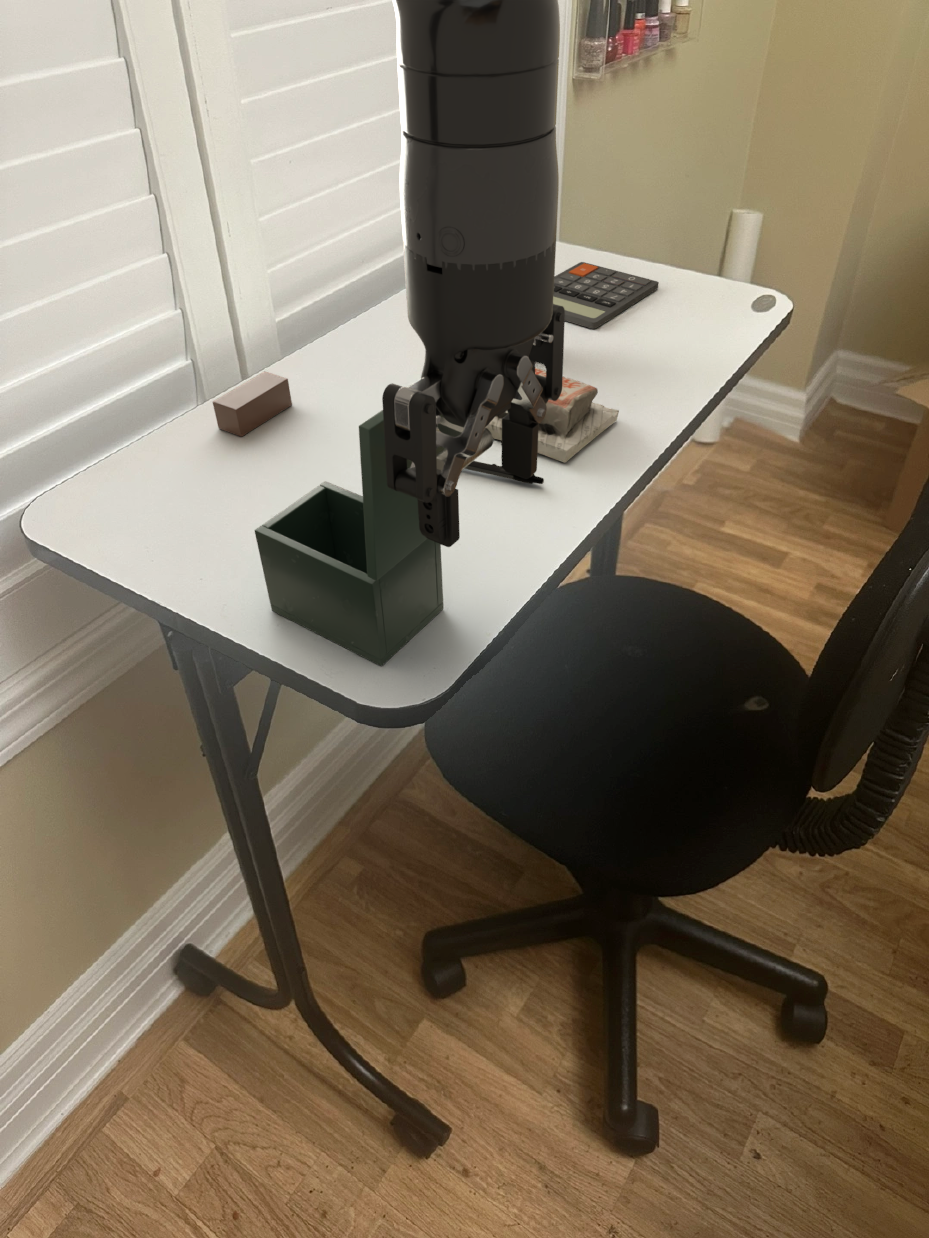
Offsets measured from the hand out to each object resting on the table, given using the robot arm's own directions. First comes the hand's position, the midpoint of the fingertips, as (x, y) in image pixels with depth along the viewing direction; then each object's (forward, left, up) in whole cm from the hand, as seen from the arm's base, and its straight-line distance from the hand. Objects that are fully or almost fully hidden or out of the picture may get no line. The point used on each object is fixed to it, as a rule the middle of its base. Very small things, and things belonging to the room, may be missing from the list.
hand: (481, 505), depth 55 cm
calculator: (+32, +58, -14) cm, 68 cm away
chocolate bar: (-11, +42, -14) cm, 45 cm away
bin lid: (-4, +5, 0) cm, 6 cm away
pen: (+7, +25, -14) cm, 30 cm away
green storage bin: (-7, +9, -14) cm, 18 cm away
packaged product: (+14, +33, -14) cm, 39 cm away
